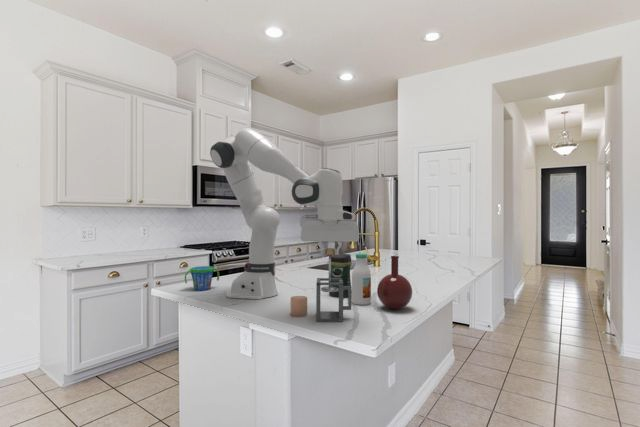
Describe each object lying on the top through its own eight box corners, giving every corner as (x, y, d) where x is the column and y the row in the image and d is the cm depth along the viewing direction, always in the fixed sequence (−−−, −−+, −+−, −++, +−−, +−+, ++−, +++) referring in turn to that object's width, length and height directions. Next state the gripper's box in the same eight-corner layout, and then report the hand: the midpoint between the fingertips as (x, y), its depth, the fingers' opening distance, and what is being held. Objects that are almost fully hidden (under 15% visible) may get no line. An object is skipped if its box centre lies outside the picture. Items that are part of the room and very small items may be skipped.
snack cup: (184, 292, 163) (185, 270, 163) (184, 288, 172) (184, 266, 172) (220, 290, 169) (220, 268, 169) (217, 285, 178) (218, 265, 178)
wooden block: (289, 316, 127) (289, 299, 127) (291, 312, 133) (291, 295, 133) (306, 316, 127) (306, 299, 126) (307, 312, 133) (307, 295, 132)
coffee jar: (353, 294, 161) (354, 253, 161) (347, 298, 154) (347, 255, 154) (333, 292, 165) (334, 252, 165) (326, 296, 158) (326, 253, 158)
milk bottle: (355, 306, 141) (356, 255, 141) (348, 301, 149) (349, 252, 149) (373, 304, 144) (374, 254, 143) (366, 300, 151) (366, 252, 151)
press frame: (316, 321, 121) (316, 283, 121) (317, 314, 130) (317, 278, 130) (352, 322, 121) (352, 283, 121) (350, 314, 130) (350, 278, 130)
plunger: (320, 292, 122) (321, 249, 122) (321, 288, 128) (321, 247, 128) (338, 292, 122) (338, 249, 122) (338, 288, 128) (338, 247, 128)
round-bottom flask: (403, 315, 129) (403, 259, 129) (370, 309, 137) (371, 256, 137) (417, 307, 139) (417, 256, 139) (386, 302, 147) (386, 253, 147)
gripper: (299, 214, 122) (299, 255, 122) (359, 214, 122) (359, 255, 122) (300, 214, 129) (300, 253, 129) (358, 214, 128) (358, 253, 128)
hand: (329, 254), depth 125 cm, fingers closed on plunger, 3 cm apart
